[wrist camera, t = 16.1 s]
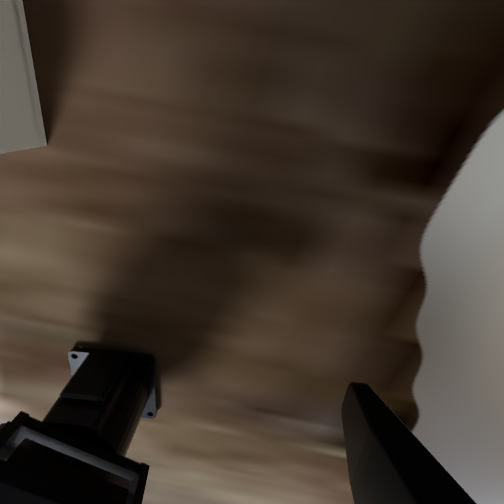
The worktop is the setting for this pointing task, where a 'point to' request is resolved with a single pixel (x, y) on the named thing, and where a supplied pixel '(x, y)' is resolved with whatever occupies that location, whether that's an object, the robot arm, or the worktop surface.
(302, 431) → the worktop surface
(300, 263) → the worktop surface
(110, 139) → the worktop surface
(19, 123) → the storage box
